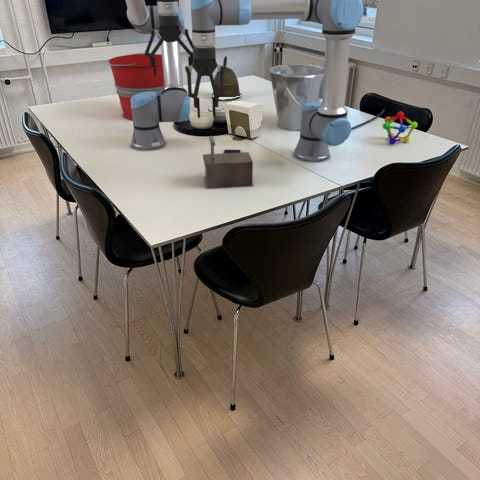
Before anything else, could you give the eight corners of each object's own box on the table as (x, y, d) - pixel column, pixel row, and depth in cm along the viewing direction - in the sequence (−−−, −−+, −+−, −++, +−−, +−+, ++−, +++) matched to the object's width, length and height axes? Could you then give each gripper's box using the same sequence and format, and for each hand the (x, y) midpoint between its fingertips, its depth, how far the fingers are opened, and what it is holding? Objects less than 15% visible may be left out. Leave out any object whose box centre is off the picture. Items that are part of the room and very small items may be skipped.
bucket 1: (122, 105, 264) (115, 51, 248) (181, 105, 263) (177, 51, 248) (106, 122, 235) (96, 62, 219) (171, 123, 234) (167, 63, 218)
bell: (227, 105, 294) (202, 96, 282) (238, 66, 289) (213, 55, 277) (243, 108, 280) (217, 98, 268) (255, 66, 275) (229, 55, 263)
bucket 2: (296, 138, 215) (301, 78, 201) (255, 124, 234) (256, 68, 219) (335, 125, 232) (342, 70, 217) (294, 113, 251) (297, 61, 236)
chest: (207, 188, 167) (206, 166, 163) (205, 177, 176) (204, 156, 171) (252, 185, 169) (252, 164, 165) (248, 175, 178) (248, 154, 173)
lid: (204, 166, 162) (203, 143, 158) (202, 156, 171) (201, 134, 166) (252, 164, 165) (253, 141, 160) (248, 154, 173) (248, 132, 168)
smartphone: (222, 162, 187) (224, 149, 200) (222, 163, 188) (224, 150, 200) (240, 162, 187) (240, 149, 200) (240, 163, 188) (240, 151, 200)
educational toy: (377, 146, 209) (379, 114, 202) (384, 138, 219) (386, 107, 211) (411, 149, 202) (415, 116, 195) (417, 141, 212) (420, 109, 204)
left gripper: (133, 15, 158) (140, 77, 169) (203, 15, 161) (205, 76, 172) (134, 13, 164) (141, 73, 176) (201, 13, 167) (203, 72, 179)
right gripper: (177, 48, 141) (181, 120, 154) (232, 47, 143) (232, 118, 156) (176, 44, 148) (181, 114, 160) (229, 44, 150) (229, 112, 162)
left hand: (172, 75), depth 174 cm, fingers open, 13 cm apart
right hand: (206, 116), depth 158 cm, fingers open, 5 cm apart
